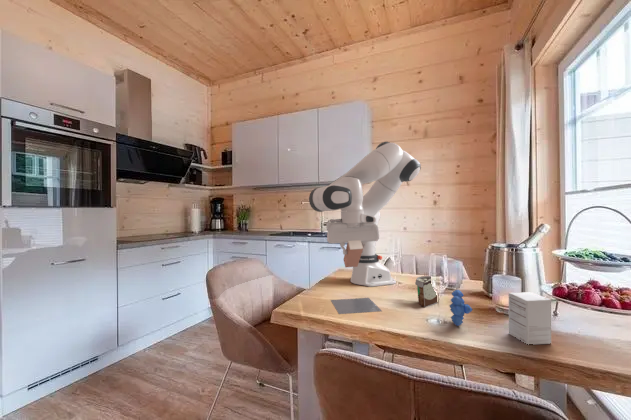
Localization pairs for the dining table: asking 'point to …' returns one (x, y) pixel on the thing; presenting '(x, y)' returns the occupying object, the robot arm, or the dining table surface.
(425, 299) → the food container
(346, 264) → the block
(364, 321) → the dining table surface
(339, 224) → the robot arm
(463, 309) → the grapes
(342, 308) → the slate board
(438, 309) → the dining table surface
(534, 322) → the white drawer cabinet
